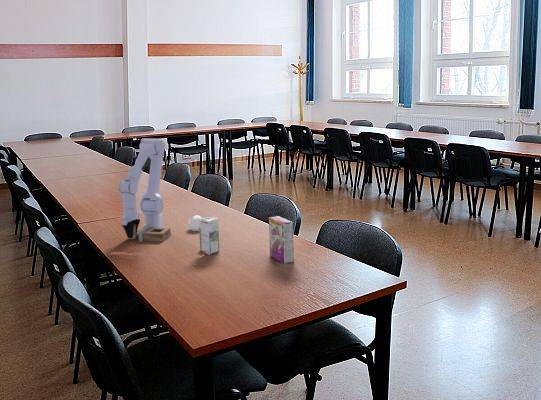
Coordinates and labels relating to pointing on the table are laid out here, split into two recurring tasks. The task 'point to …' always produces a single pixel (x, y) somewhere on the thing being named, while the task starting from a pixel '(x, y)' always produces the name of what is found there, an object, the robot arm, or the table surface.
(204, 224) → the syrup box
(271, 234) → the candy bar box
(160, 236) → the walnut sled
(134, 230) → the birch dowel
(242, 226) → the table surface
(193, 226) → the motion sensor
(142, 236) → the backstop board
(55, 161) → the table surface
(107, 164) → the table surface
